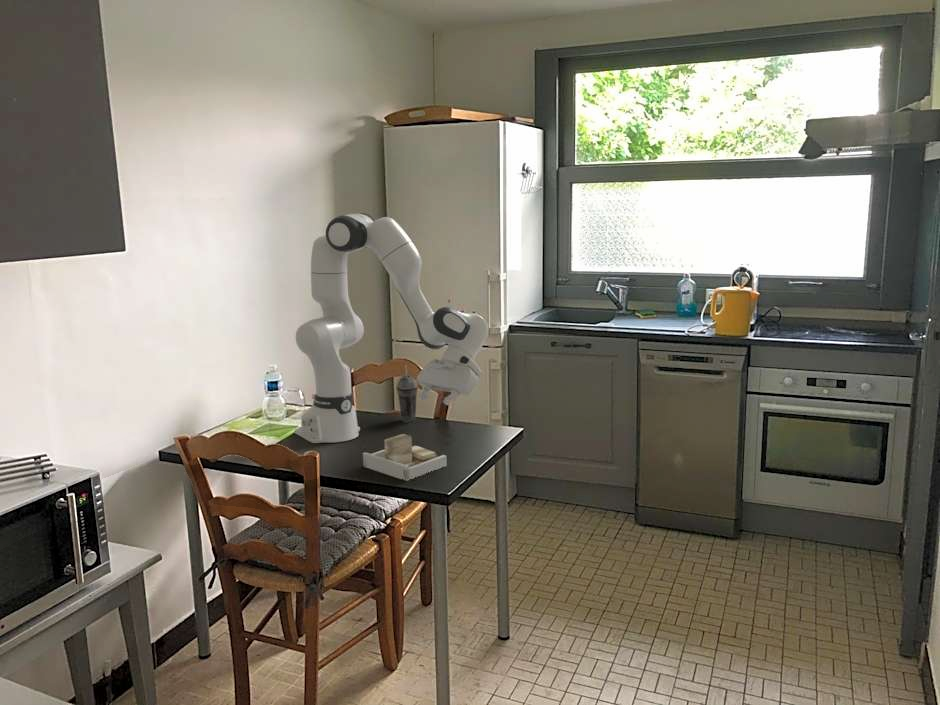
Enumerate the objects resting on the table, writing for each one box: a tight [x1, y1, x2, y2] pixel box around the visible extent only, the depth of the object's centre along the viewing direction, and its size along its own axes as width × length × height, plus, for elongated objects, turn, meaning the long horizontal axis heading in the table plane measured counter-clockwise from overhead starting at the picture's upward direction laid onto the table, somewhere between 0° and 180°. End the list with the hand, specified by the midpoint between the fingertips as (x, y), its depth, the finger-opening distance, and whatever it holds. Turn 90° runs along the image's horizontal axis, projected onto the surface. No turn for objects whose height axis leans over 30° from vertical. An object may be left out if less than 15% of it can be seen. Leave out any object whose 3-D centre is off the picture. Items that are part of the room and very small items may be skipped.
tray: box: [362, 448, 448, 482], centre depth 222 cm, size 18×16×4 cm
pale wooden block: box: [384, 433, 413, 465], centre depth 220 cm, size 4×7×9 cm, turn 137°
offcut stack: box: [412, 445, 438, 465], centre depth 226 cm, size 14×6×4 cm, turn 47°
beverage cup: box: [396, 363, 419, 423], centre depth 266 cm, size 7×7×20 cm
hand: (434, 401), depth 228 cm, fingers open, 8 cm apart
